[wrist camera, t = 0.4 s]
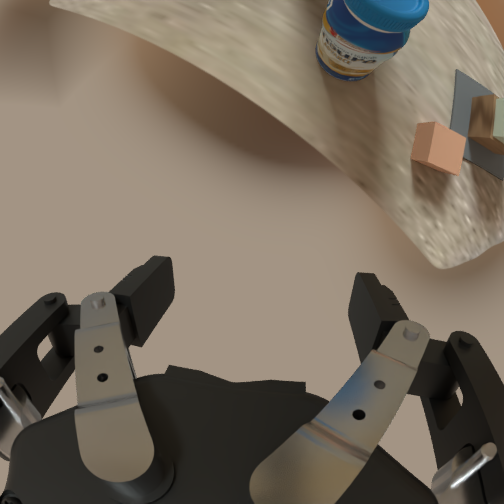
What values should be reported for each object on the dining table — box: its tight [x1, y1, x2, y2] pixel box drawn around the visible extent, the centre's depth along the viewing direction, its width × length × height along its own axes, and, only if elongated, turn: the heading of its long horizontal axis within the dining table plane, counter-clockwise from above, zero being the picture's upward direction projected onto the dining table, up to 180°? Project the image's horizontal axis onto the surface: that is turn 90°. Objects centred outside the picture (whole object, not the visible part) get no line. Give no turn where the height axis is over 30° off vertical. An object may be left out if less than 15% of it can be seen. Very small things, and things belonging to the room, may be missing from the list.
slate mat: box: [450, 69, 504, 180], centre depth 28 cm, size 14×14×1 cm
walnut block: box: [467, 94, 504, 155], centre depth 25 cm, size 7×7×6 cm
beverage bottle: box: [316, 0, 429, 81], centre depth 19 cm, size 8×8×20 cm
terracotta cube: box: [410, 122, 466, 176], centre depth 29 cm, size 6×6×6 cm
